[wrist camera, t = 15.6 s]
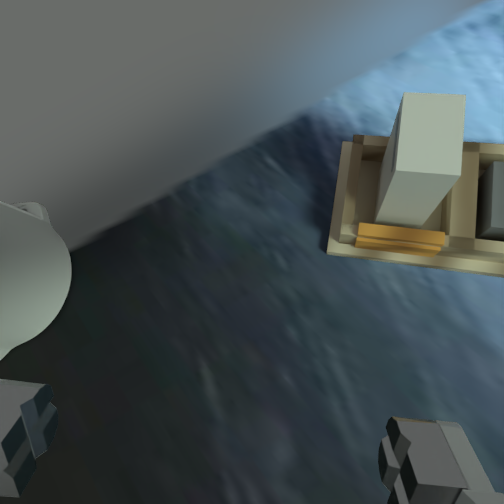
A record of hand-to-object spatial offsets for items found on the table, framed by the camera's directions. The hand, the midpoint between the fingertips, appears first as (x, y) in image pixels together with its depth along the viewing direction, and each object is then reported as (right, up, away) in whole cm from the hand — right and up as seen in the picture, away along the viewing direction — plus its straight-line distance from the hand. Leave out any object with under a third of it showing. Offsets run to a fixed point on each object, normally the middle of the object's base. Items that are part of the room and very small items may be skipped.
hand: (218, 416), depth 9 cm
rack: (+20, +8, +28) cm, 35 cm away
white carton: (+15, +9, +28) cm, 33 cm away
